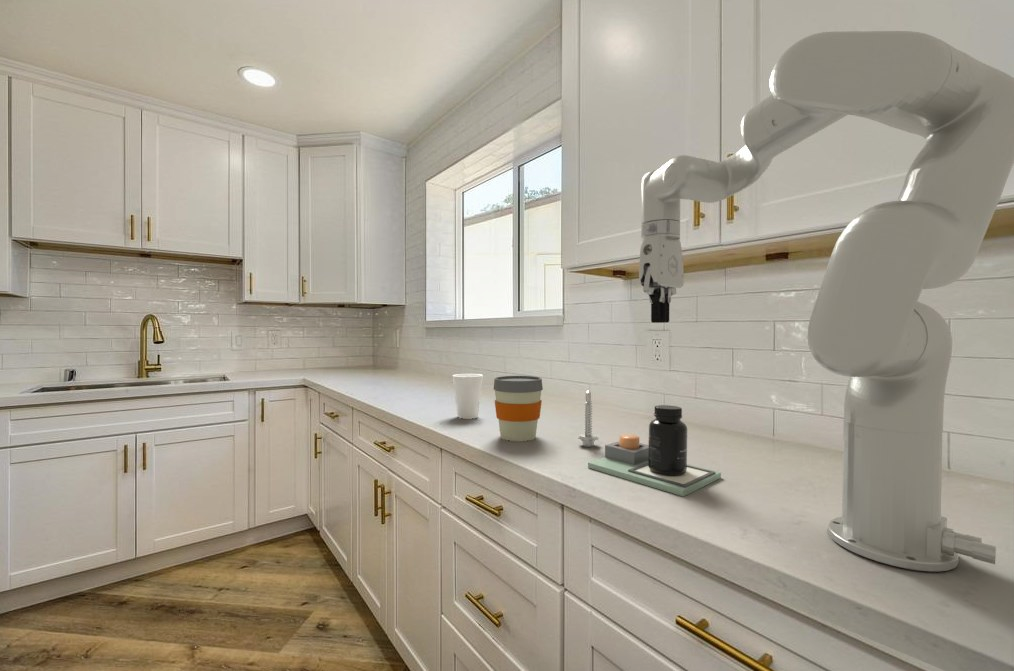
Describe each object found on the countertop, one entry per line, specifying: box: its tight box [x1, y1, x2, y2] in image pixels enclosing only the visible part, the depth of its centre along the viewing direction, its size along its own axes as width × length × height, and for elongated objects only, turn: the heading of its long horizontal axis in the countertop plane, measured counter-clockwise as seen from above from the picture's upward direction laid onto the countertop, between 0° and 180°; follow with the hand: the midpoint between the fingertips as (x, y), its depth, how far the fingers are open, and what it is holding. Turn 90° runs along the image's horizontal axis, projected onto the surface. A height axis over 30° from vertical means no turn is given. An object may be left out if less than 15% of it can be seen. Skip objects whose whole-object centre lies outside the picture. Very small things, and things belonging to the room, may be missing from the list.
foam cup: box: [452, 373, 484, 420], centre depth 139 cm, size 10×9×13 cm
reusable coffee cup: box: [493, 375, 544, 442], centre depth 114 cm, size 12×13×15 cm
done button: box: [618, 434, 640, 450], centre depth 92 cm, size 4×4×4 cm
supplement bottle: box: [648, 404, 688, 476], centre depth 83 cm, size 7×7×12 cm
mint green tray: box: [587, 440, 722, 497], centre depth 86 cm, size 20×14×4 cm
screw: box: [577, 390, 599, 448], centre depth 105 cm, size 13×5×5 cm
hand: (660, 322), depth 92 cm, fingers closed
